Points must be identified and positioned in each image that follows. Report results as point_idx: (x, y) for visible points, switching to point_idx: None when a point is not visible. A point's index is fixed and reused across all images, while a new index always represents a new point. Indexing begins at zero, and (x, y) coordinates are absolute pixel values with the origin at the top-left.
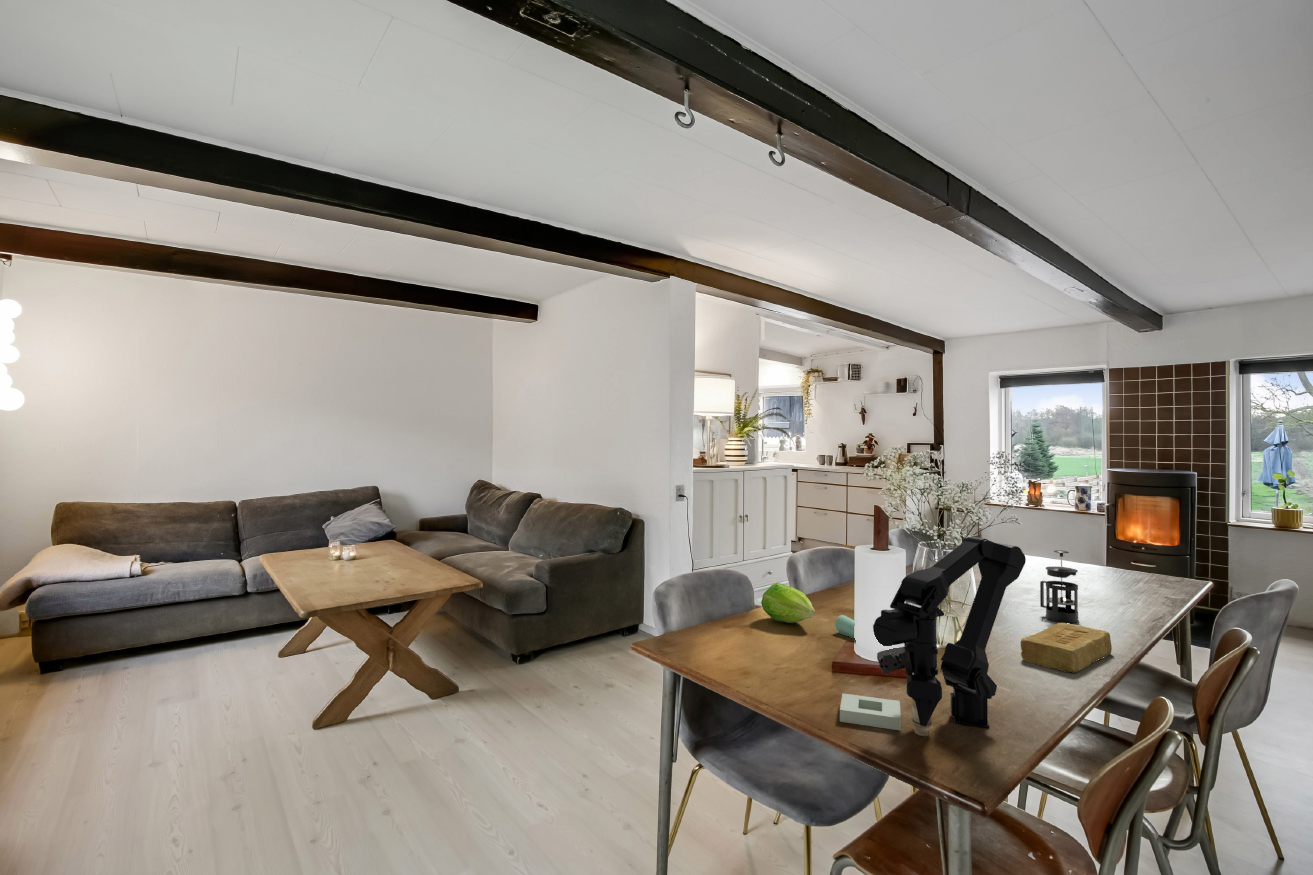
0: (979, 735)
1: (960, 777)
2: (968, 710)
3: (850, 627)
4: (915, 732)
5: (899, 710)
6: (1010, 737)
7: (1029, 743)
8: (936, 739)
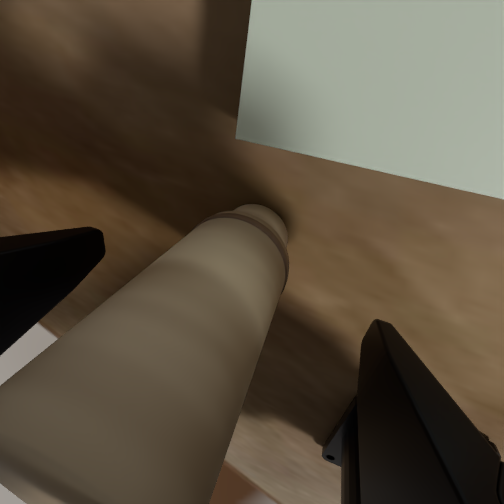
0: (268, 401)
1: None
2: (351, 481)
3: None
4: (242, 205)
5: (388, 166)
6: (269, 451)
7: (243, 460)
8: None
